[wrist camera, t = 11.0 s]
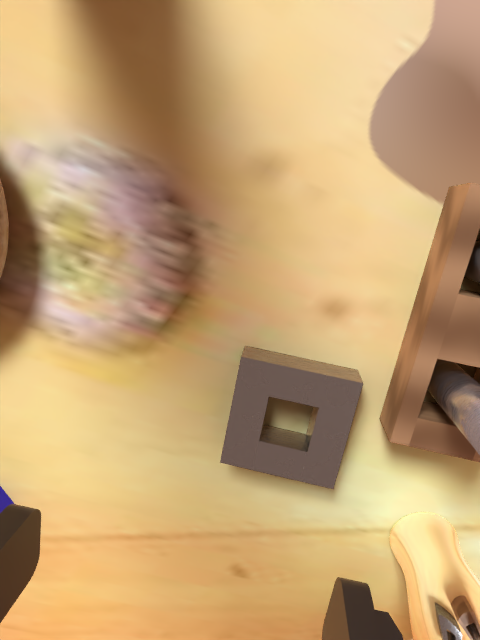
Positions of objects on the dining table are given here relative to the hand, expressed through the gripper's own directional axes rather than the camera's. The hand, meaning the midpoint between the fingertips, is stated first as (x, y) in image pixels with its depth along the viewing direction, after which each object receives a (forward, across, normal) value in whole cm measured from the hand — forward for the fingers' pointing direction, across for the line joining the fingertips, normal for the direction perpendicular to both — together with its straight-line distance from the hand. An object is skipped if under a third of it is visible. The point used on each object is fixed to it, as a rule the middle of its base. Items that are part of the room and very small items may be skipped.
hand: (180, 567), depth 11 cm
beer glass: (+26, -19, +18) cm, 37 cm away
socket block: (+26, -4, +8) cm, 28 cm away
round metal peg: (+26, -16, +2) cm, 31 cm away
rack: (+26, -17, -3) cm, 31 cm away
